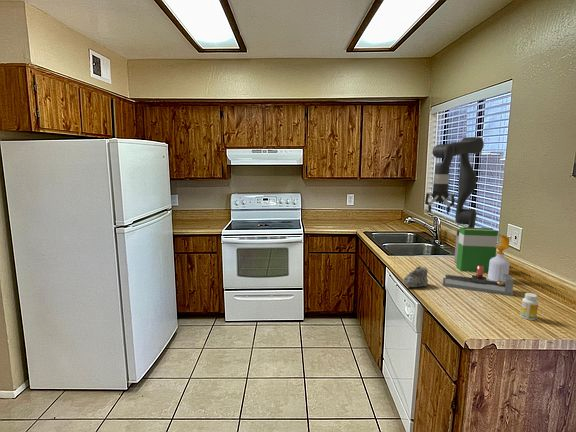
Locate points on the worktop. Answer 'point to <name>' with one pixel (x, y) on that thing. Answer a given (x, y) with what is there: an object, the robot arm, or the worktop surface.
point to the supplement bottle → (529, 306)
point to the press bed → (489, 287)
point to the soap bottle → (499, 262)
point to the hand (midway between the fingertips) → (438, 212)
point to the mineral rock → (417, 278)
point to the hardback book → (476, 248)
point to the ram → (479, 276)
